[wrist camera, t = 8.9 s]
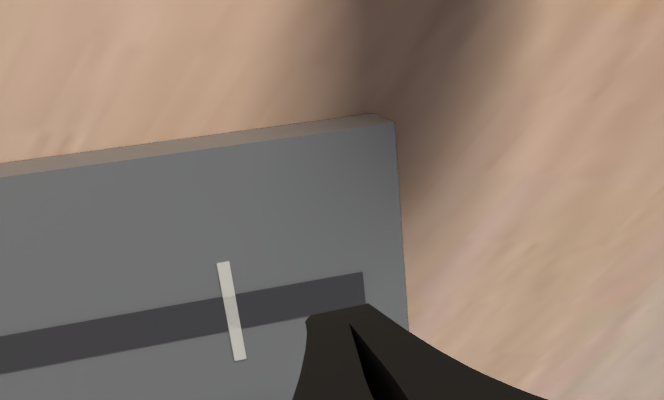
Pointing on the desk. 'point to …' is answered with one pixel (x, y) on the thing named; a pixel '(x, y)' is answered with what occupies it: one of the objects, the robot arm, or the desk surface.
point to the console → (194, 260)
